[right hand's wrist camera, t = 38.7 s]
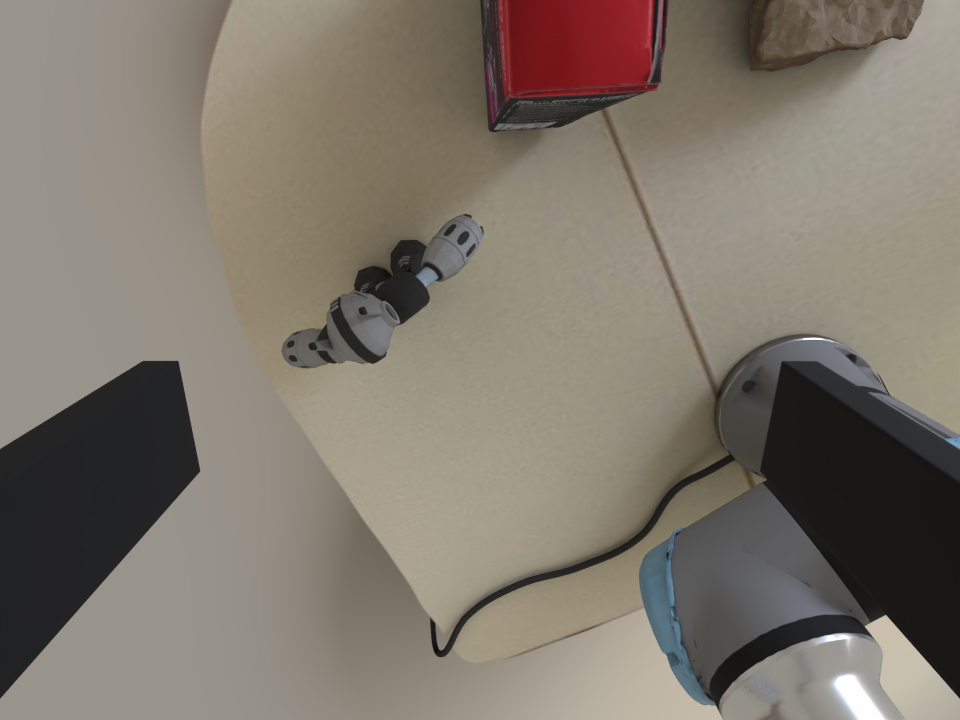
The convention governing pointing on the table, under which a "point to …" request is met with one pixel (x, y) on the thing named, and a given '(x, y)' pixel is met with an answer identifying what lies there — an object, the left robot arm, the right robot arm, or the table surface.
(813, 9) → the stone
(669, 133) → the table surface
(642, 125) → the table surface
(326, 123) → the table surface
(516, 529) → the table surface
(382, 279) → the robot
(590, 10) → the graphics card box
